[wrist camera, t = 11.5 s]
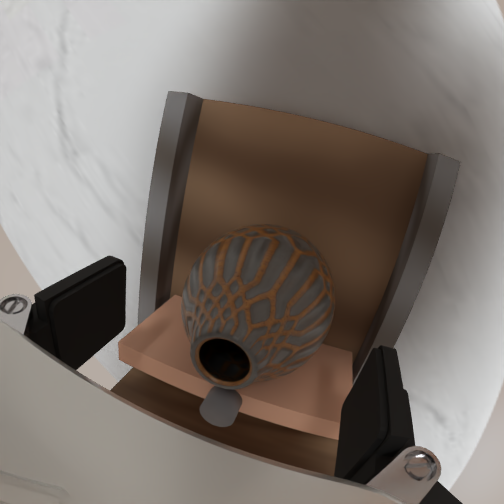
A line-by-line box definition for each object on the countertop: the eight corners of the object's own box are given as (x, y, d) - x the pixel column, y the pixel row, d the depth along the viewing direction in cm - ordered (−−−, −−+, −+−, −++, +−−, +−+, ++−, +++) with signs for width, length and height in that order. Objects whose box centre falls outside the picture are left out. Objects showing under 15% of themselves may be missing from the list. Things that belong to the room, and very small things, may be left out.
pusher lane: (189, 98, 17) (108, 72, 10) (443, 161, 14) (511, 164, 7) (154, 357, 23) (98, 415, 16) (337, 420, 21) (327, 503, 13)
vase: (244, 337, 20) (187, 435, 12) (200, 237, 19) (104, 294, 10) (351, 310, 17) (351, 420, 9) (311, 195, 16) (283, 229, 8)
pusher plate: (175, 291, 20) (104, 350, 13) (353, 349, 18) (352, 441, 11) (173, 312, 21) (106, 374, 14) (344, 369, 18) (337, 461, 11)
